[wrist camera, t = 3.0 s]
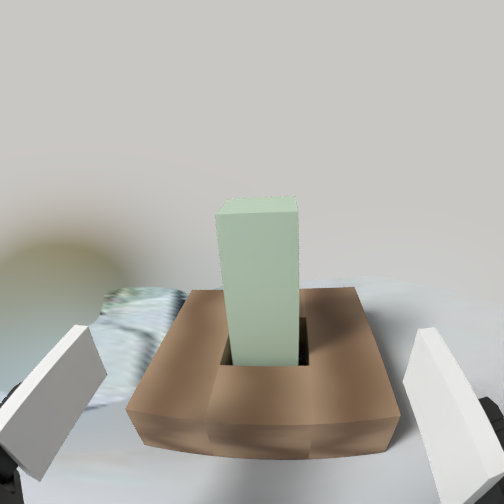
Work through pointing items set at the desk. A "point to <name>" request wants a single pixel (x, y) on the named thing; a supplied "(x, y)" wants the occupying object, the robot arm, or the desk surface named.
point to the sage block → (261, 279)
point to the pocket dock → (268, 386)
